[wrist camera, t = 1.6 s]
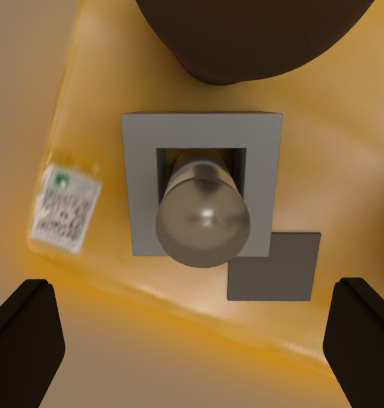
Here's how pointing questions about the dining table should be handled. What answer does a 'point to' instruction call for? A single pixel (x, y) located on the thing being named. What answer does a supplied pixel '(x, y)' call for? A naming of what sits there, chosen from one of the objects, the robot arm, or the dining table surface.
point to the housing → (201, 138)
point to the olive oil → (249, 34)
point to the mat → (276, 270)
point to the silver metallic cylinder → (202, 212)
